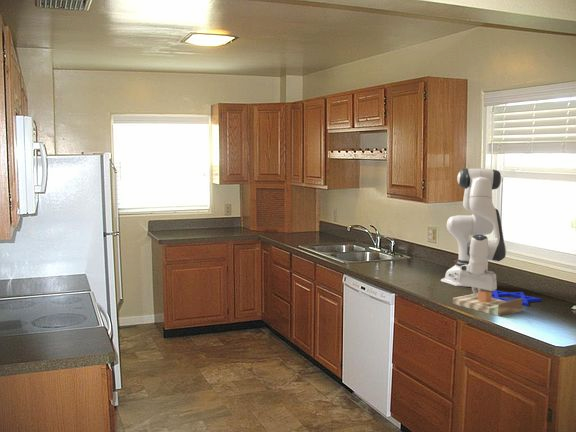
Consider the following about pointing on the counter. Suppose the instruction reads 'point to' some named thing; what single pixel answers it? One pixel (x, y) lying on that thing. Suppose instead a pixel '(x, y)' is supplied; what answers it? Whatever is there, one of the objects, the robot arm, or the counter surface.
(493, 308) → the board
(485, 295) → the block
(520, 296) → the symbol
